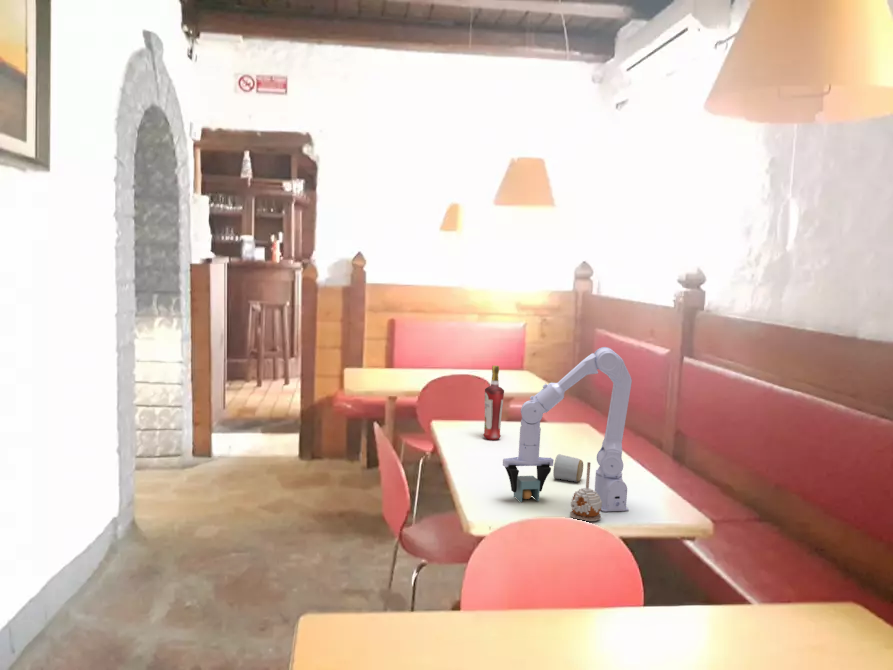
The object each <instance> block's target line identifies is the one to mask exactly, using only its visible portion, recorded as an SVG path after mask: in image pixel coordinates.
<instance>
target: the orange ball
mask: <svg viewBox="0 0 893 670" xmlns="http://www.w3.org/2000/svg"><path fill="white" fill-rule="evenodd" d="M531 496H532V493H531V491H530V490H529V489H524V490H523V493H522V500H525V499H528V500H530V499H531V498H532V497H531Z"/></svg>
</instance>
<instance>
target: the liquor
mask: <svg viewBox="0 0 893 670" xmlns="http://www.w3.org/2000/svg"><path fill="white" fill-rule="evenodd" d="M491 372H492V373H491V382H490V386H487V387H486V388H484V427H483V429H484V433H483V434H482V436H483V437H484V438H485V440H487V441H498V440H499V439H500V438H501V437H502V435H501V424H502V423H501V422H502V414H503V405H504V395H505V390H504V389H503V388H502V387H501V386H500V385H499V384H500V383H499V381H500V380H499V373H500V365H492V366H491Z"/></svg>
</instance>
